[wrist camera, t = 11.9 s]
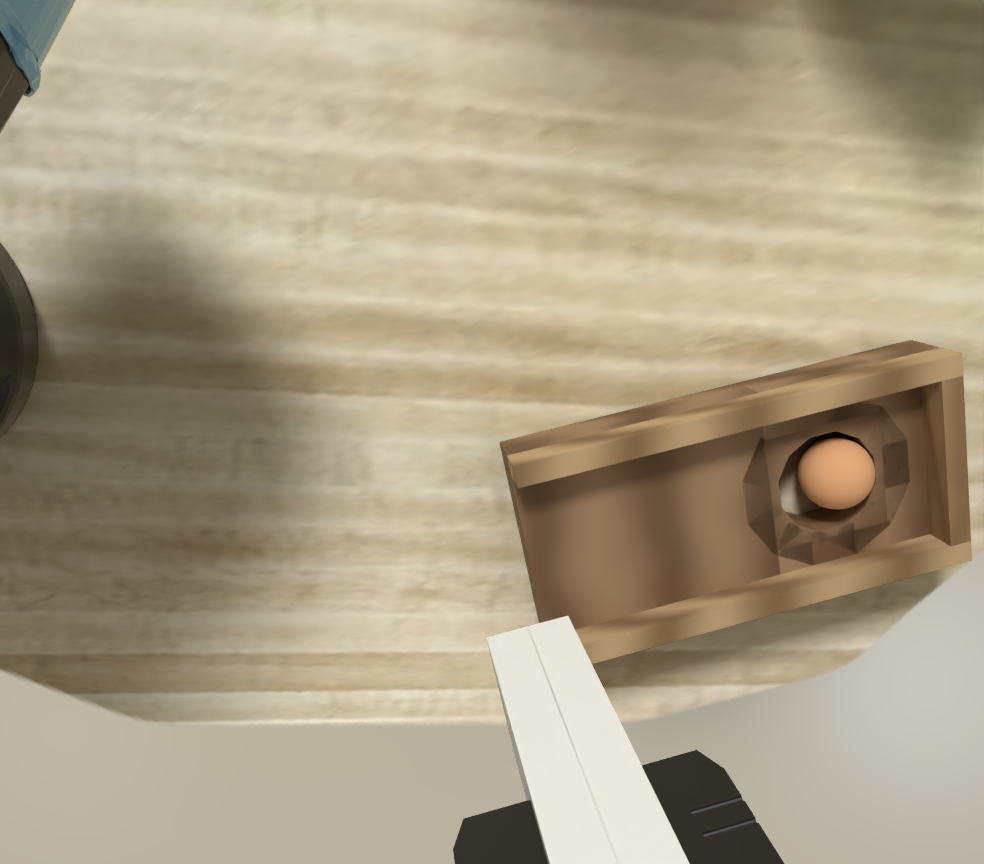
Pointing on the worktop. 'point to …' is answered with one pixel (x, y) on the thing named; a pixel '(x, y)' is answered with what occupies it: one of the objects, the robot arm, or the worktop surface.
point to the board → (741, 499)
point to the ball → (836, 473)
